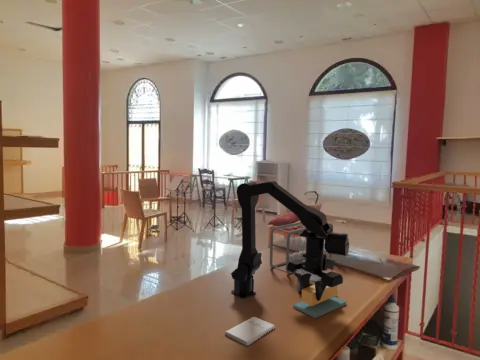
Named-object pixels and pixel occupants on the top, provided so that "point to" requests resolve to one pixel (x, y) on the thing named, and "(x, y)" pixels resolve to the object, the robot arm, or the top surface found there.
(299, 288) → the dispenser
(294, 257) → the newton's cradle
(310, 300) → the tan rectangular slab
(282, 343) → the top surface
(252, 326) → the external hard drive
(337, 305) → the mat
